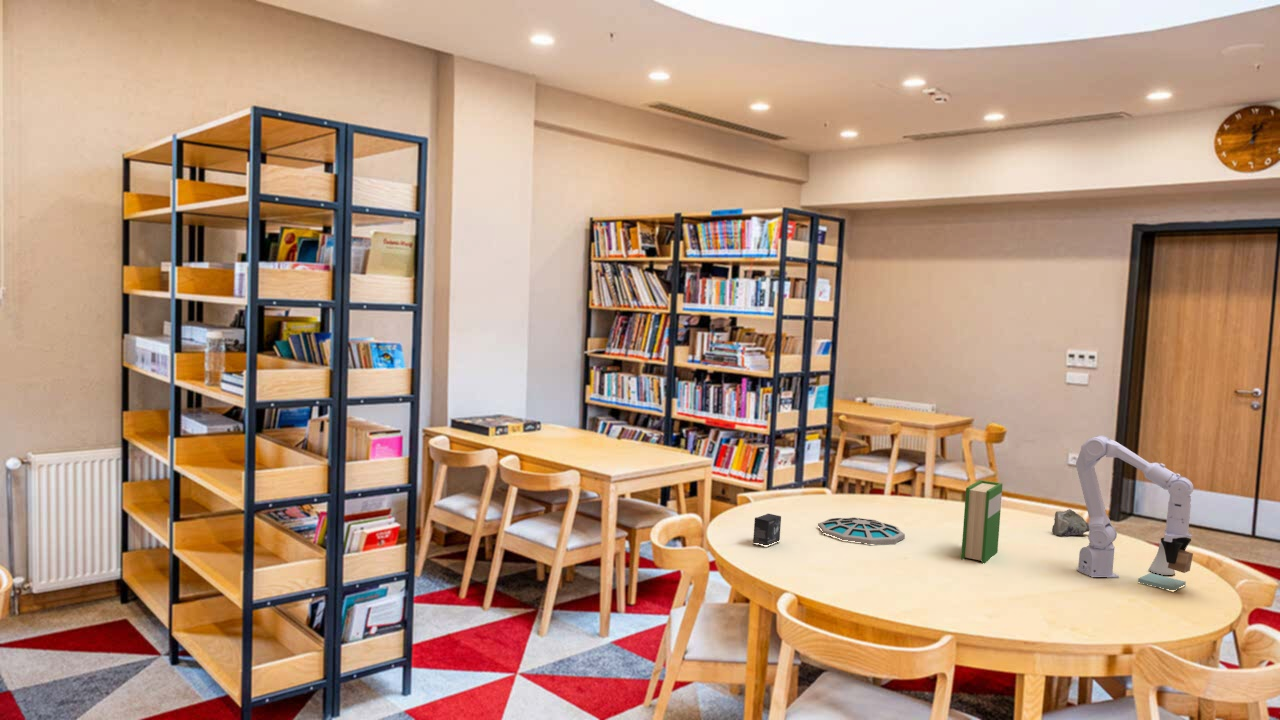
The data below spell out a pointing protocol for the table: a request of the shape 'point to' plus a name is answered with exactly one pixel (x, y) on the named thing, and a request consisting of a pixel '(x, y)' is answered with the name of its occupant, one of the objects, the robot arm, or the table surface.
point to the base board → (1161, 581)
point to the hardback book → (981, 520)
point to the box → (767, 529)
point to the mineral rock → (1069, 523)
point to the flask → (1161, 563)
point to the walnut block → (1182, 562)
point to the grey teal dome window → (862, 530)
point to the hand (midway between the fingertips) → (1173, 561)
